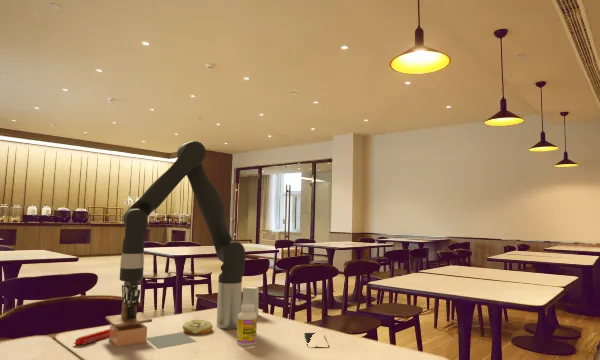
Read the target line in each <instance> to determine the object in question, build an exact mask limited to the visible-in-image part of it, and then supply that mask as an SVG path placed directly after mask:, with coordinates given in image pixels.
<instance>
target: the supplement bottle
mask: <svg viewBox="0 0 600 360" xmlns="http://www.w3.org/2000/svg"><path fill="white" fill-rule="evenodd" d="M254 309H255V305H253V304H243V305H241V310H242V311H241V312H240V313H239V314H238V322H237V328H236V344H237V345H239V346H242V347H243V346H244V347H245V346H246V347H248V346H253V345H256V343H257V328H258V327H257V325H258V315H257V314H256V313H255V312H254Z"/></svg>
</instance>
